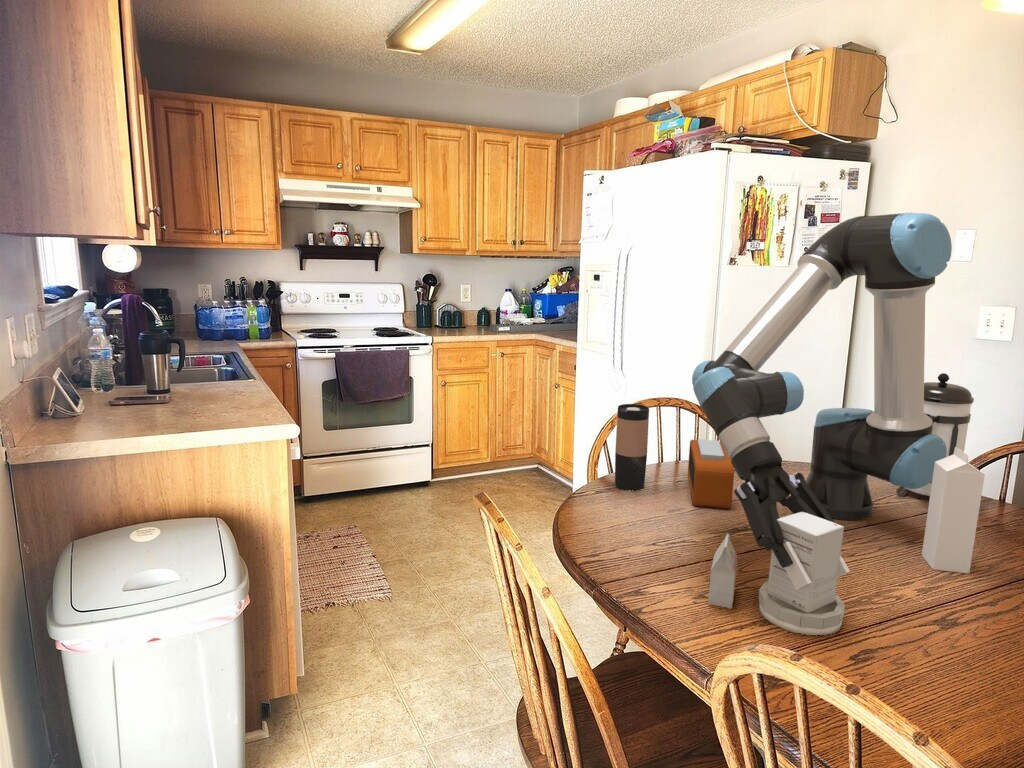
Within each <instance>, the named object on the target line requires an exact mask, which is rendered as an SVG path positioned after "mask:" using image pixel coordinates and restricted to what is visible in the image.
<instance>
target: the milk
mask: <svg viewBox="0 0 1024 768" xmlns="http://www.w3.org/2000/svg"><path fill="white" fill-rule="evenodd" d="M984 483H985V473H984V472H982V471H980V470H979V469H978V468H977V467H975V466H974V465H972V464H971V463H969V454H967V453H966V452H965V451H964V452H963V451H961V450H960V449H958V448H957V447H955V449H954V454H953V455H951V456H948V457H946V458H943V459H941V460H938V461H936V462H935V464H934V472H933V479H932V486H931V493H930V496H929V501H928V508H927V516H926V520H925V521H926V523H925V530H924V537H923V543H922V551H921V556H922V558H923V559H924V560H925V563H927V564H928V565H929V567H930V568H931V569H932V570H933V571H943V572H951V573H952V572H953V573H959V574H970V572H971V566H972V559H973V553H974V547H975V539H976V533H977V527H978V520H979V513H980V509H981V508H980V506H981V501H982V495H983V494H982V493H983V488H984V487H983V486H984Z"/></svg>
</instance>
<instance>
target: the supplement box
mask: <svg viewBox="0 0 1024 768" xmlns="http://www.w3.org/2000/svg"><path fill="white" fill-rule="evenodd" d="M777 521H778V523H779V525H780V527H781V530H782V535H783V540H784V542H783V544H784V543H785V542H790V544H791V546H792V548H793V549H794V551H795V553H796V555H797V557H798V559H799V560H800V562H801V564H802V566H803V568H804V569H805V571H806V573H807V575H808V577H809V579H810V580H811V582H812V583H810V584H808V585H806V586H804V587H802V588H800V589H797V590H796V589H795V587H794V585H793V583H792V581H791V579H790V577H789V575H788V574H787V572H786V570H785V568H783V567H782V566H781V565H780V563H779V561H778V560H777V558H776V556H775V554H774V552H773V550H771V556H770V563H769V574H768V580H767V581H768V589H767V593H769V594H770V595H772V596H774V597H776V598H778V599H780V600H782V601H784V602H786V603H788V604H790V605H792V606H794V607H796V608H798V609H800V610H802V611H804V612H806V613H809V612H811V611H814V610H816V609H818V608H820V607H823V606H825V605H827V604H830V603H832V602H834V601H835V594H836V592H837V582H838V578H839V577H838V569H839V562H840V555H841V554H842V546H843V539H844V538H843V536H844V531H845V529H844V528H845V527H844V526H843V525H840V524H838V523H836V522H835V523H833V522H831V521H828V520H825V519H822V518H819V517H817V516H814V515H811V514H808V513H805V512H799V513H796V514H793V513H792V514H789V515H785V516H781V517H779V519H777ZM837 577H838V578H837Z"/></svg>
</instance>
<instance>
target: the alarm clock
mask: <svg viewBox="0 0 1024 768" xmlns="http://www.w3.org/2000/svg"><path fill="white" fill-rule="evenodd" d="M688 448H689V449H688V464H687V466H688V468H687V478H688V485H689V491H690V497H691V503H692V506H694V505H695V507H705V508H706V507H707V508H719V509H727V508H728V509H731V507H732V502H733V493H734V478H735V477H734V476H735V469H734V467H733V465H732V463H731V461H732V458H729V457H728V455H727V453H726V451H725V449H724V448H723V446H722V444H721V442H720V440H716V439H715V440H713V439H690V441H689V447H688Z"/></svg>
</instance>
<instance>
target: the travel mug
mask: <svg viewBox="0 0 1024 768" xmlns="http://www.w3.org/2000/svg"><path fill="white" fill-rule="evenodd" d="M649 417H650V407H648V406H646V405H644V404H635V403H623V404H620V405H619V404H618V406H617V417H616V434H615V435H616V436H615V448H614V449H615V455H614V457H615V458H614V486H615V488H617V489H618V488H619V490H621V489H623V490H622V491H626V490H631V491H630V492H637V491H636V490H639V491H642V490H643V489H644V488H645V482H646V481H645V480H646V469H647V461H648V441H649V439H648V438H649V422H650V421H649ZM641 489H642V490H641ZM632 490H633V491H632Z"/></svg>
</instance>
